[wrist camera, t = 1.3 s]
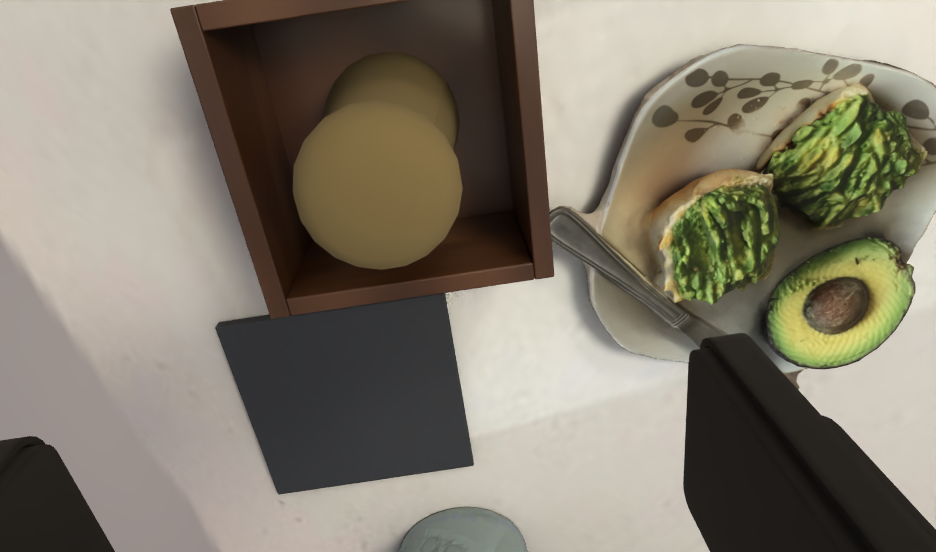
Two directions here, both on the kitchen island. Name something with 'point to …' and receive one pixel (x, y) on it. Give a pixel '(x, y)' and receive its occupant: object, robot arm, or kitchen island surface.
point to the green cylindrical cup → (464, 533)
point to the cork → (381, 164)
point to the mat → (351, 392)
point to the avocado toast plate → (763, 208)
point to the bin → (303, 107)
